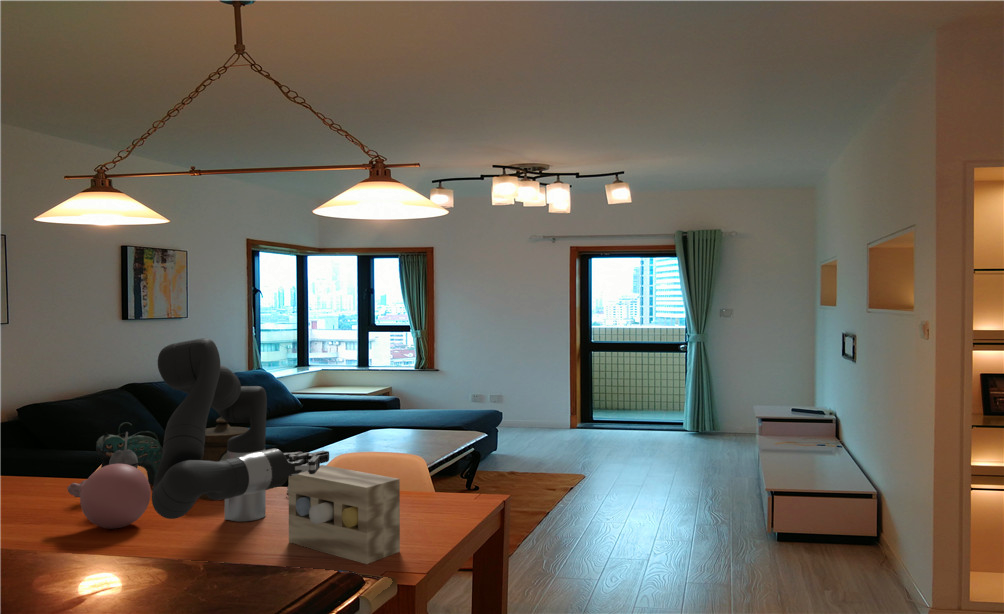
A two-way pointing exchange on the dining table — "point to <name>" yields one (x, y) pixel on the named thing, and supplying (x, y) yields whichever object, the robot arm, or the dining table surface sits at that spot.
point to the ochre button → (350, 516)
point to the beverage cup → (124, 456)
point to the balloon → (113, 495)
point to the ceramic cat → (140, 445)
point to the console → (346, 490)
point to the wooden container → (218, 443)
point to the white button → (322, 512)
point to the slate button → (303, 505)
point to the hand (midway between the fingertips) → (326, 455)
